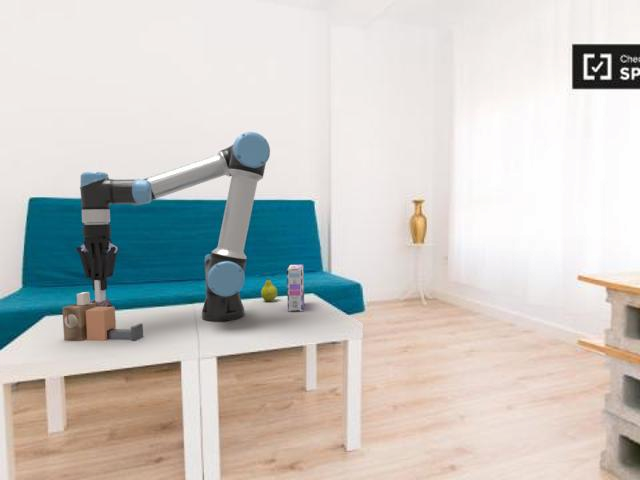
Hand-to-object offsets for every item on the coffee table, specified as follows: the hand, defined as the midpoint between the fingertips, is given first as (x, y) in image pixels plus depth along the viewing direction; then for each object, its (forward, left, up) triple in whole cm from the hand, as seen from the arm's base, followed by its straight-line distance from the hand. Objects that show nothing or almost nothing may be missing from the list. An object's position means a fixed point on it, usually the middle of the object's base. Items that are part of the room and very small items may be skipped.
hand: (100, 300), depth 127 cm
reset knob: (+6, 0, -1) cm, 6 cm away
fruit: (-38, -55, -12) cm, 68 cm away
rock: (+13, -15, -12) cm, 23 cm away
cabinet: (+7, 0, -12) cm, 14 cm away
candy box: (-52, -44, -12) cm, 69 cm away
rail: (-3, 0, -12) cm, 12 cm away
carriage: (0, 0, -12) cm, 12 cm away
